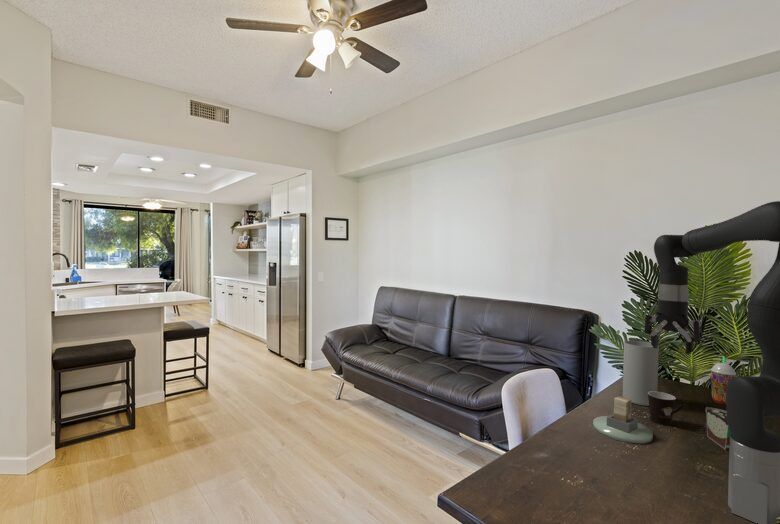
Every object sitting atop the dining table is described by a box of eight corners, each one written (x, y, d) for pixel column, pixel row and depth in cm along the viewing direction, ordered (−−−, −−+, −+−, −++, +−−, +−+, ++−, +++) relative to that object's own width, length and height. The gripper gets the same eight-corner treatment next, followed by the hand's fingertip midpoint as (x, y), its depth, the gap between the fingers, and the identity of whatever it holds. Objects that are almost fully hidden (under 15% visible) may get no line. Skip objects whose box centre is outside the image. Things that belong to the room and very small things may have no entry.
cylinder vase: (627, 404, 158) (629, 345, 158) (618, 394, 170) (620, 339, 170) (661, 408, 155) (663, 348, 154) (650, 397, 166) (652, 341, 166)
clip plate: (639, 448, 121) (639, 435, 121) (583, 427, 135) (583, 415, 135) (661, 434, 131) (661, 421, 131) (607, 416, 146) (607, 404, 146)
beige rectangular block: (625, 430, 130) (626, 402, 130) (613, 425, 134) (614, 398, 133) (630, 427, 133) (631, 399, 132) (618, 423, 136) (619, 396, 136)
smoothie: (705, 400, 164) (707, 355, 164) (715, 397, 167) (717, 353, 167) (729, 407, 156) (730, 360, 156) (739, 404, 160) (740, 358, 160)
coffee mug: (648, 423, 140) (649, 396, 140) (645, 414, 147) (646, 389, 147) (687, 430, 134) (688, 403, 134) (682, 421, 142) (682, 395, 142)
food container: (751, 454, 118) (752, 423, 118) (728, 452, 120) (729, 421, 119) (724, 436, 130) (725, 408, 130) (704, 434, 132) (705, 406, 132)
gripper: (642, 297, 120) (640, 347, 120) (697, 302, 108) (695, 357, 108) (651, 296, 124) (650, 344, 124) (705, 300, 112) (704, 354, 112)
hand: (671, 350), depth 116 cm, fingers open, 8 cm apart
